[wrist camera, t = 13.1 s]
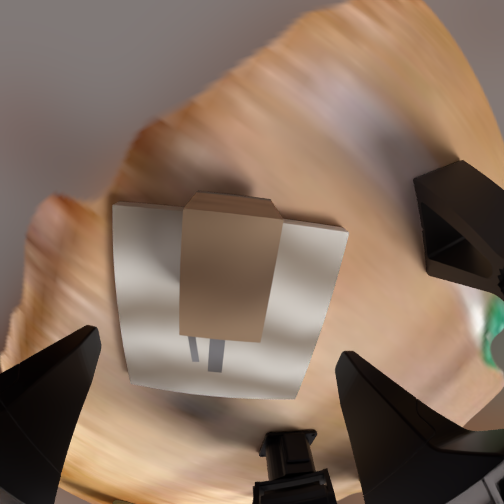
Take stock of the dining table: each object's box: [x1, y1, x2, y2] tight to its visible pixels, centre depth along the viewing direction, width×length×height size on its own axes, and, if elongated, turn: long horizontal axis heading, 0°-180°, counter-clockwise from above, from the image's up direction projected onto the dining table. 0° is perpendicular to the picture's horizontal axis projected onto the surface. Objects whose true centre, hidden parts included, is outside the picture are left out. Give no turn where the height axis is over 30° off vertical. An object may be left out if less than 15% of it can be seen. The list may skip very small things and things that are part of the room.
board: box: [112, 201, 349, 399], centre depth 21 cm, size 17×16×1 cm
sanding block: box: [179, 191, 284, 343], centre depth 16 cm, size 7×4×5 cm, turn 172°
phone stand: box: [413, 160, 504, 301], centre depth 14 cm, size 9×6×12 cm, turn 22°
